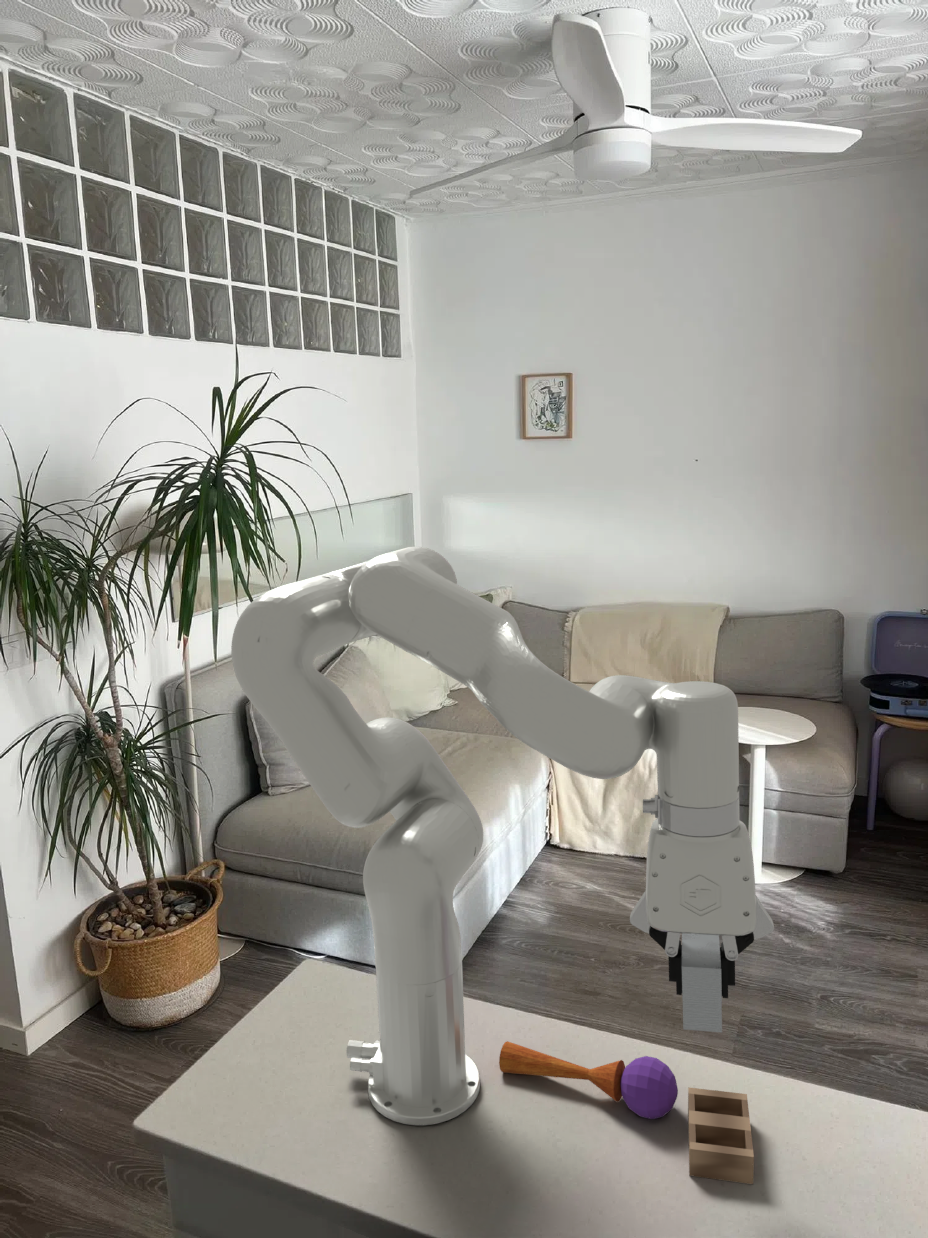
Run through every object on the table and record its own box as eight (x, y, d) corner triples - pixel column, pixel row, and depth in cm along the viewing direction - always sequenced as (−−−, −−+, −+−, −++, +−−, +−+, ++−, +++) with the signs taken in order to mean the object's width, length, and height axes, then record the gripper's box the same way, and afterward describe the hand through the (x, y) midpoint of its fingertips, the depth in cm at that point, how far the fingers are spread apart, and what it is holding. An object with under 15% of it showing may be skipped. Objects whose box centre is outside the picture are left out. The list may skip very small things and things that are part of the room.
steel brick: (683, 1034, 89) (681, 966, 88) (683, 991, 96) (682, 928, 95) (722, 1037, 88) (721, 969, 87) (719, 993, 95) (718, 930, 94)
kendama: (515, 1021, 111) (682, 1053, 102) (516, 1072, 111) (683, 1109, 101) (493, 1041, 106) (668, 1076, 96) (494, 1094, 105) (669, 1135, 96)
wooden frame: (689, 1175, 92) (689, 1149, 91) (687, 1112, 100) (688, 1087, 100) (753, 1184, 90) (753, 1157, 90) (746, 1119, 99) (746, 1094, 98)
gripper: (607, 825, 87) (614, 1004, 90) (794, 831, 83) (795, 1018, 86) (613, 796, 94) (619, 963, 97) (786, 800, 90) (786, 974, 93)
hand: (701, 987), depth 92 cm, fingers closed on steel brick, 3 cm apart
